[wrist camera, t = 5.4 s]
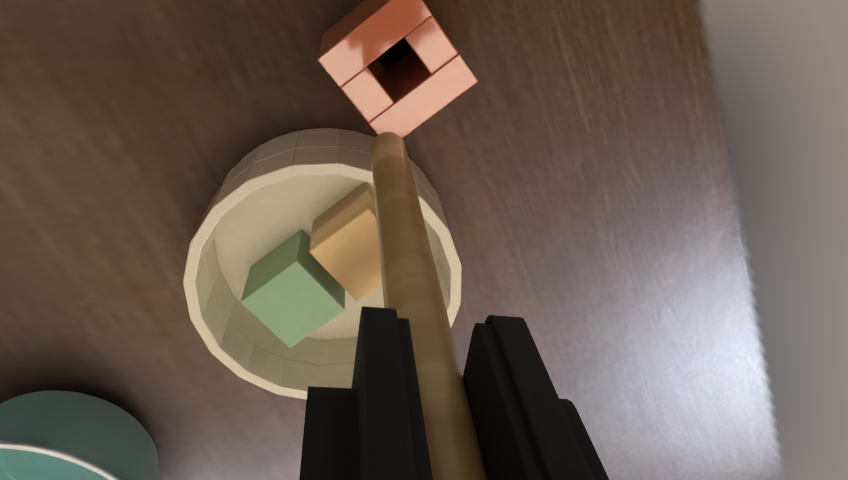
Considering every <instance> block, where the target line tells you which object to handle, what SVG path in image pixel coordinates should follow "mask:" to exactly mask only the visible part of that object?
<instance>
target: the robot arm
mask: <svg viewBox="0 0 848 480" xmlns="http://www.w3.org/2000/svg"><path fill="white" fill-rule="evenodd" d="M463 380H464V385H465V389H466V393H467V397H468V401H469V405H470V409H471V413H472V417H473V421H474V425H475V429H476V433H477V437H478V441H479V445H480V449H481V453H482V457H483V461H484V465H485V469H486V473H487V477H488V480H609V478H608V476H607V474H606V472H605V470H604V468H603V465H602V463H601V461H600V459H599V457H598V455H597V453H596V450H595V448H594V446H593V444H592V442H591V440H590V437H589V435H588V433H587V431H586V429H585V427H584V425H583V422H582V420H581V418H580V416H579V414H578V412H577V409H576V408H575V406H574V405H573V403H572V402H571V401H569V400H568V399H559V398H558V395H557V393H556V391H555V388H554V386H553V384H552V382H551V379H550V377H549V375H548V372H547V370H546V368H545V366H544V363H543V361H542V359H541V356H540V354H539V352H538V350H537V347H536V345H535V343H534V340H533V338H532V336H531V334H530V331H529V329H528V327H527V324H526V322H525V321H524V319H523V318H521V317H508V316H493V315H489V316H488V317H487V319H486V321H485V324H483V323H476V324H475V326H474V329H473V332H472V337H471V342H470V346H469V351H468V356H467V360H466V365H465V370H464V374H463ZM300 480H433V477H432V470H431V464H430V457H429V450H428V444H427V437H426V430H425V424H424V417H423V410H422V404H421V397H420V390H419V383H418V377H417V370H416V363H415V357H414V350H413V343H412V337H411V330H410V323H409V319H408V318H397V311H396V309H393V308H379V307H364V306H362V309H361V314H360V322H359V330H358V338H357V346H356V354H355V362H354V370H353V379H352V387H351V388H333V387H313V386H308V391H307V402H306V413H305V424H304V436H303V447H302V458H301V469H300Z"/></svg>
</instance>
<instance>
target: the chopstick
mask: <svg viewBox="0 0 848 480" xmlns="http://www.w3.org/2000/svg"><path fill="white" fill-rule="evenodd" d="M370 153H371V164H372V175H373V186H374V198H375V209H376V220H377V231H378V242H379V254H380V265H381V276H382V287H383V299H384V308H393V309H396V311H397V318H408V319H409V323H410V330H411V337H412V343H413V350H414V357H415V363H416V370H417V377H418V383H419V390H420V397H421V404H422V410H423V417H424V424H425V430H426V437H427V444H428V450H429V457H430V464H431V470H432V477H433V480H488V477H487V473H486V469H485V465H484V461H483V457H482V453H481V449H480V445H479V441H478V437H477V433H476V429H475V425H474V421H473V417H472V413H471V409H470V405H469V401H468V397H467V393H466V389H465V385H464V380H463V375H462V371H461V367H460V363H459V359H458V355H457V351H456V347H455V343H454V339H453V335H452V331H451V327H450V323H449V319H448V315H447V311H446V307H445V303H444V299H443V295H442V291H441V287H440V283H439V279H438V275H437V271H436V267H435V263H434V259H433V255H432V251H431V247H430V243H429V239H428V234H427V230H426V226H425V222H424V218H423V214H422V210H421V206H420V202H419V198H418V194H417V190H416V186H415V182H414V178H413V174H412V170H411V166H410V162H409V158H408V154H407V150H406V146H405V143H404V141H403V139H402V138H401V137H400V136H399V135H397V134H395V133H393V132H384V133H381V134H379V135H377V136H376V137H375V138H374V139H373V141H372V143H371V146H370Z"/></svg>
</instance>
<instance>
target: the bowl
mask: <svg viewBox="0 0 848 480" xmlns="http://www.w3.org/2000/svg"><path fill="white" fill-rule="evenodd" d="M0 480H161V475H160V466H159V458H158V453H157V450H156V447H155V444H154V442H153V440H152V438H151V437H150V435H149V434H148V432H147V431H146V429H145V428H144V427H143V426H142V425H141V424H140V423H139V422H138V421H137V420H136V419H135V418H134V417H133V416H131V415H130V414H129V413H128V412H126V411H125V410H123V409H122V408H120V407H118V406H116V405H114V404H112V403H110V402H108V401H106V400H103V399H101V398H98V397H95V396H91V395H87V394H83V393H78V392H71V391H57V390H51V391H39V392H32V393H28V394H24V395H20V396H17V397H15V398H12V399H9V400H7V401H5V402H3V403H1V404H0Z"/></svg>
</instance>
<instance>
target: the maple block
mask: <svg viewBox="0 0 848 480" xmlns="http://www.w3.org/2000/svg"><path fill="white" fill-rule="evenodd" d="M309 252H310V253H311V254H312V255H313V257H314V258H315V259H316V260H317V261H318V262H319V263H320V264H321V265H322V266H323V267H324V268H325V269H326V270H327V271H328V272H329V273H330V274H331V275H332V276H333V277H334V278H335V279H336V280H337V281H338V282H339V284H340V285H341V286H342V287H343V288H344V289H345V290H346V291H347V292H348V293H349V294H350V295H351V296H352V297H353V298H354V299H355V300H356V301H358V300H359V299H361V298H362V297H364V296H365V295H366V294H368V293H369V292H371V291H372V290H374V289H375V288H376V287H378V286H379V285H381V284H382V276H381V265H380V254H379V242H378V231H377V220H376V209H375V198H374V189H373V188H372V186H371V185H370V184H369V183H368V182H364V183H363V184H361V185H360V186H359V187H357V188H356V189H355V190H353V191H352V192H351V193H349V194H348V195H347V196H345V197H344V198H343V199H341V200H340V201H339V202H337V203H336V204H335V205H333V206H332V207H330V208H329V209H328V210H326V211H325V212H324V213H322V214H321V215H320V216H318V217H317V218H316V219H314V220H313V225H312V233H311V241H310V249H309Z"/></svg>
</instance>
